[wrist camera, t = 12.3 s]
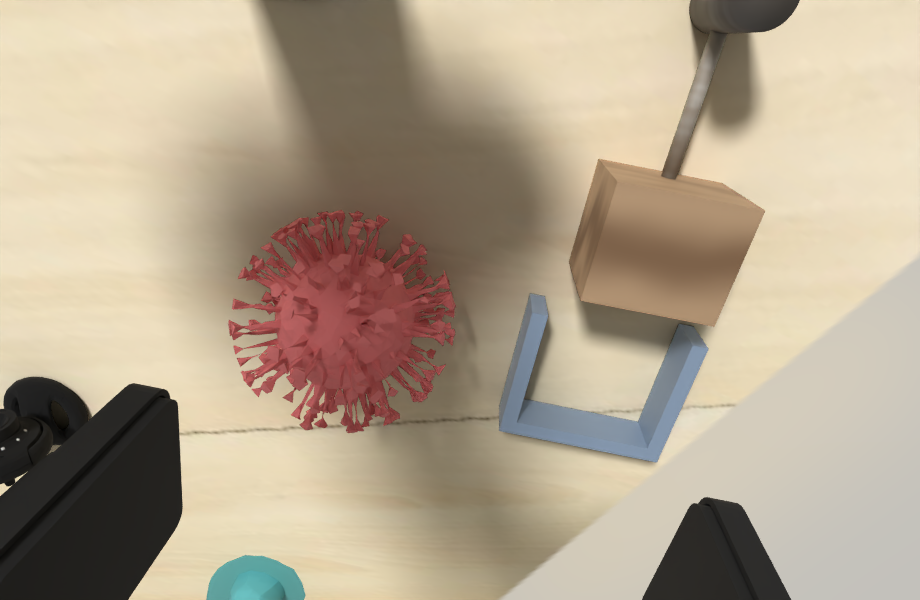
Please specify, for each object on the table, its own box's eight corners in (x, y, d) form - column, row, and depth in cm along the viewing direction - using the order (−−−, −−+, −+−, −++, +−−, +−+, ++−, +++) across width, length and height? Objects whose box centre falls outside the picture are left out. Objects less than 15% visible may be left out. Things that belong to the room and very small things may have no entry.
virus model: (386, 148, 39) (325, 202, 26) (497, 304, 44) (494, 419, 30) (242, 252, 43) (125, 345, 30) (357, 384, 48) (300, 516, 35)
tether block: (682, 284, 42) (714, 326, 36) (568, 261, 42) (580, 300, 36) (799, -13, 33) (869, -26, 27) (656, -42, 33) (692, -62, 27)
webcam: (80, 377, 50) (-13, 450, 41) (100, 441, 53) (17, 522, 44) (-1, 371, 50) (-111, 442, 41) (24, 435, 54) (-73, 514, 45)
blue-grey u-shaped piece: (646, 435, 48) (656, 462, 45) (499, 405, 48) (499, 430, 45) (693, 326, 43) (708, 348, 40) (530, 293, 43) (532, 312, 40)
